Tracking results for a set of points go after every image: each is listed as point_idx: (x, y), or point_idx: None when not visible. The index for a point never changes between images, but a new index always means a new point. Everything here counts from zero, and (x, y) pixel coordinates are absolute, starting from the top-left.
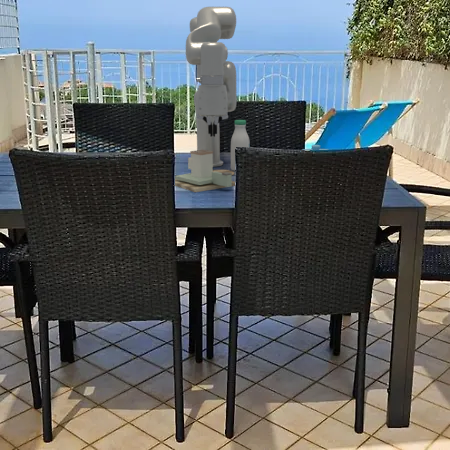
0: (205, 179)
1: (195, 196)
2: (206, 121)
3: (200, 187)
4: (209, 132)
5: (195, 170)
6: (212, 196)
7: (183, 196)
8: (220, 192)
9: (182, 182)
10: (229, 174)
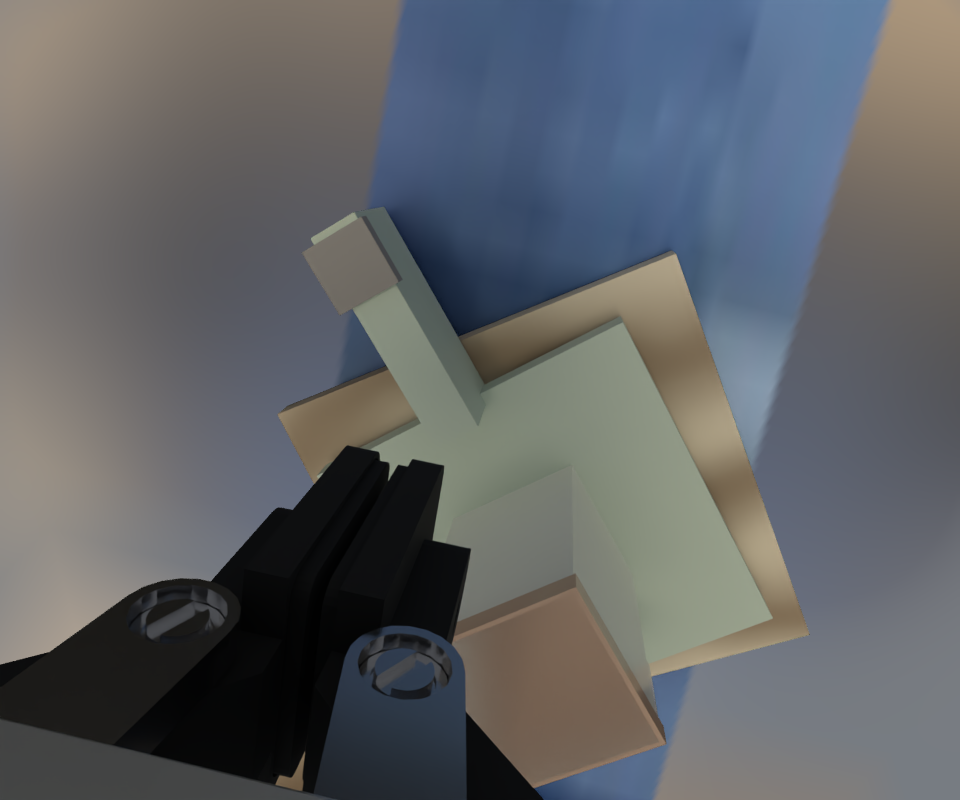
0: (543, 405)
1: (707, 87)
2: (478, 766)
3: (613, 297)
4: (444, 546)
5: (609, 557)
6: (558, 50)
7: (814, 113)
8: (458, 193)
9: None
10: (330, 235)
